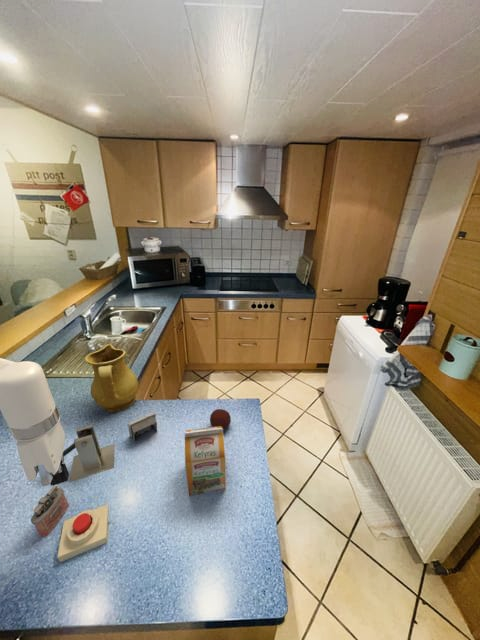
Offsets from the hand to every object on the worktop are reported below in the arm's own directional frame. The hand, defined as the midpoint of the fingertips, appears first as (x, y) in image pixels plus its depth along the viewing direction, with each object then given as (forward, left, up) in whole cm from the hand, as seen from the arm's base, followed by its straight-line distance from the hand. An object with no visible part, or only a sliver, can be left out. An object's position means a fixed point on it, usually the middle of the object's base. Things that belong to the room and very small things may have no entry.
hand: (60, 480), depth 57 cm
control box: (+2, -3, -18) cm, 18 cm away
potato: (+44, +16, -18) cm, 50 cm away
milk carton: (+34, 0, -18) cm, 38 cm away
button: (+2, -3, -14) cm, 15 cm away
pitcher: (+8, +44, -18) cm, 48 cm away
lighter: (-6, +3, -18) cm, 19 cm away
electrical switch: (+18, +22, -18) cm, 34 cm away
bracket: (+2, +17, -18) cm, 25 cm away
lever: (-2, +17, -10) cm, 20 cm away
